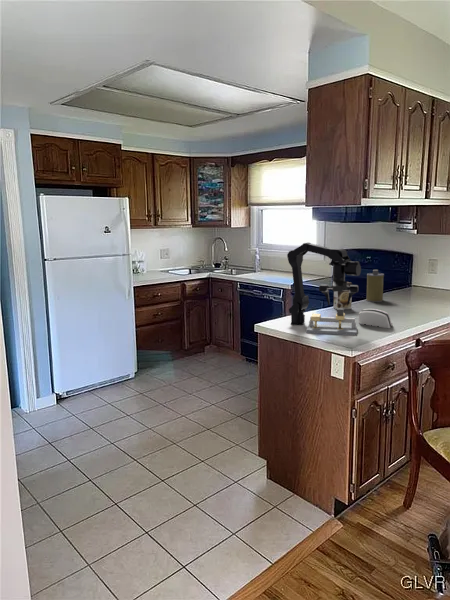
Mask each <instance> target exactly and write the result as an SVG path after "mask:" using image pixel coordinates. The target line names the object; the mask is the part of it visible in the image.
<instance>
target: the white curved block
mask: <svg viewBox="0 0 450 600" xmlns="http://www.w3.org/2000/svg"><path fill="white" fill-rule="evenodd" d="M358 324H359V325H364V324H366V326H371V325H372V327H377V326H379V327H378V328H384V329H391V327H393V322H392V320H391V316H390V314H389V313H388V312H387V311H384V310H382V309H381V310H380V309H377V308H364V309H362V310H360V311H359V313H358Z"/></svg>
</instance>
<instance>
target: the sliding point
mask: <svg viewBox="0 0 450 600" xmlns="http://www.w3.org/2000/svg"><path fill="white" fill-rule="evenodd" d="M344 311H345V309H344V308H337V309H336V313H335V317H336V320H339V322H338V325H339V328H341V325H342V323H341V320H344V318H346V317H345V316H346V313H345V312H344Z"/></svg>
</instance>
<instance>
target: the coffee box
mask: <svg viewBox="0 0 450 600" xmlns="http://www.w3.org/2000/svg"><path fill="white" fill-rule="evenodd" d="M346 282H347V287H350V285H353V283H352V282H351V281H350V282H349V281H346ZM348 296H349V290H343V291H342V292H339V291H336V292H334V291H333V309H335V310H337V308H344V310H351V309H352V303H353V302H352V298H353V296H352V297H351V299H350V302H349V305H348V306H347V302H348Z"/></svg>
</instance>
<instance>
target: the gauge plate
mask: <svg viewBox="0 0 450 600" xmlns="http://www.w3.org/2000/svg"><path fill="white" fill-rule="evenodd" d="M321 314H322V313H312V314H311V316H310V319H309V322H308V326H307V328H306V330H305V332H306V334H320V335H321V334H322V335H323V334H325V335H341V336H345V335H346V336H357V334H358V326H357V321H356V318H355V317H345V318H344V320H341V328H339V324H321V323H322V322H323V323H339V320H336V316H335V317H334V316H331V317H329V316H322V315H321ZM318 322H319V323H320V322H321V323H320V324H319V323H318ZM343 323H345V324H351V325H345V324H344V325H343Z"/></svg>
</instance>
